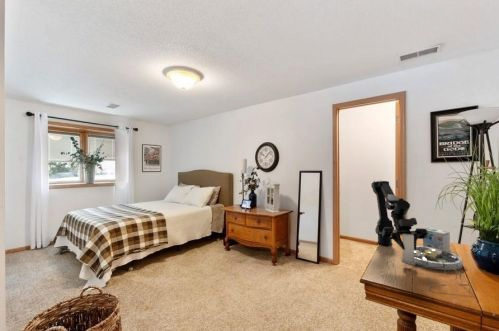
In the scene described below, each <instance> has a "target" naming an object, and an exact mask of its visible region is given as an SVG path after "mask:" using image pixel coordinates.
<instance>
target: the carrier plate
mask: <svg viewBox="0 0 499 331" xmlns="http://www.w3.org/2000/svg"><path fill="white" fill-rule="evenodd" d="M414 260H416V264H415V265H414V266H417V267H420V266H421V267H444V266H445V265H446V266H445V271H444V268H427V269H429V270H434V271H442V272H458V271H460V270H462V269H463V267H464V266H463V259H462V257H460V256H459V255H458V254H456V253H453V252H451V251H446V250H441V249H437V248H433V247H424V246H423V245H416V250H414ZM448 265H449V266H448ZM450 266H451V267H452V268H451V267H450ZM453 268H454V269H456V270H454V269H453Z"/></svg>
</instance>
